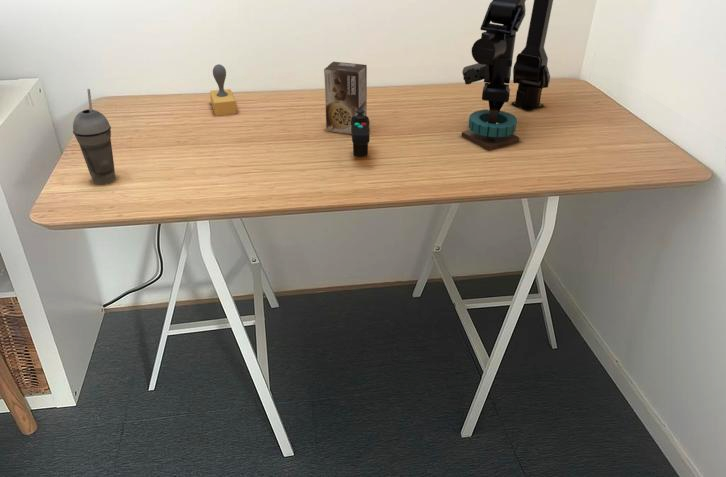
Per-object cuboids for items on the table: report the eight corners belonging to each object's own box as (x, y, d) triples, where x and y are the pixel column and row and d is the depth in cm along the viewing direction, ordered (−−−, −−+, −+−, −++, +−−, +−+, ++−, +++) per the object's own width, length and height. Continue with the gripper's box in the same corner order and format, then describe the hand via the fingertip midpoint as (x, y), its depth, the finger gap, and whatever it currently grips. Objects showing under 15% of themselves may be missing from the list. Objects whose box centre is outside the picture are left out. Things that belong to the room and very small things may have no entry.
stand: (491, 128, 159) (494, 99, 154) (519, 141, 151) (523, 111, 147) (461, 136, 154) (464, 106, 150) (488, 150, 147) (492, 119, 143)
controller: (368, 146, 148) (369, 106, 143) (370, 168, 138) (370, 126, 133) (350, 146, 148) (350, 106, 143) (351, 168, 138) (350, 126, 133)
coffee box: (367, 126, 159) (368, 64, 150) (359, 136, 153) (359, 72, 145) (334, 122, 161) (333, 60, 152) (325, 131, 156) (323, 67, 147)
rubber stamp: (211, 103, 172) (205, 60, 166) (232, 101, 174) (227, 58, 167) (215, 115, 164) (209, 71, 158) (237, 113, 166) (232, 69, 159)
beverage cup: (91, 172, 135) (69, 83, 124) (125, 171, 136) (106, 82, 125) (81, 188, 129) (57, 95, 118) (117, 187, 130) (96, 95, 119)
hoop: (491, 115, 158) (492, 106, 156) (525, 129, 150) (527, 120, 149) (458, 125, 152) (459, 116, 151) (492, 141, 145) (493, 131, 143)
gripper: (469, 41, 155) (463, 101, 163) (463, 63, 140) (457, 128, 148) (514, 44, 153) (506, 104, 161) (513, 66, 138) (504, 132, 146)
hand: (492, 116), depth 154 cm, fingers closed on hoop, 2 cm apart
